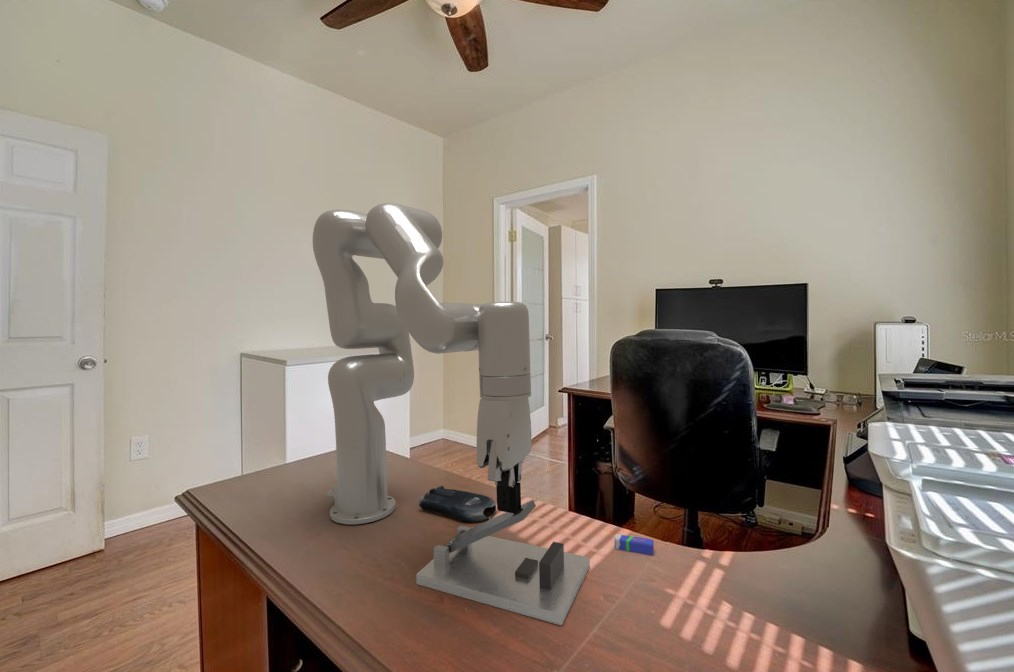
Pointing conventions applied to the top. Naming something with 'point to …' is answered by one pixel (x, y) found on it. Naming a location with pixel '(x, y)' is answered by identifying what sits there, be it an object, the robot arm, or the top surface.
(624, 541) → the eraser
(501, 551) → the mounting plate
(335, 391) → the robot arm
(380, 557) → the top surface
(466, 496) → the electronic device
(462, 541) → the retention lever
